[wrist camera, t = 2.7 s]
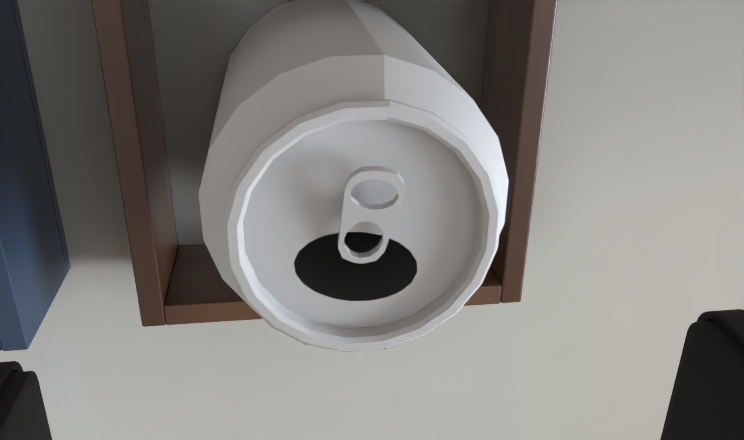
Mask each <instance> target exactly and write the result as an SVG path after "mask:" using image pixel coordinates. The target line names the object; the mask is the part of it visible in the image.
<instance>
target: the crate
mask: <svg viewBox="0 0 744 440" xmlns="http://www.w3.org/2000/svg"><path fill="white" fill-rule="evenodd" d="M91 2H92V8H93V14H94V21H95V27H96V34H97V40H98V46H99V53H100V59H101V65H102V72H103V78H104V85H105V91H106V97H107V104H108V110H109V117H110V123H111V129H112V136H113V142H114V149H115V155H116V161H117V168H118V174H119V181H120V187H121V193H122V200H123V206H124V212H125V219H126V225H127V232H128V238H129V244H130V251H131V257H132V264H133V270H134V276H135V283H136V289H137V296H138V302H139V308H140V315H141V321H142V326H159V325H165V324H167V325H173V324H189V323H204V322H220V321H235V320H251V319H263V318H262V317H261V316H260V315H259V314H258V313H256V312H255V311H254V310H253V309H252V308H251V307H250V306H249V305H248V304H247V303H246V302H245V301H244V300H243V299H242V298H241V297H240V296H239V295H238V294H237V293H236V292H235V291H234V290H233V289H232V288H231V287H230V286H229V285H228V284H227V283H226V282H225V281H224V280H223V279H222V277H221V275H220V273H219V271H218V269H217V267H216V265H215V263H214V261H213V258H212V256H211V254H210V252H209V250H208V248H207V246H206V245H191V246H179V247H178V241H177V233H176V225H175V217H174V209H173V201H172V192H171V184H170V176H169V168H168V160H167V152H166V143H165V135H164V127H163V119H162V111H161V102H160V94H159V86H158V78H157V70H156V62H155V53H154V45H153V37H152V29H151V21H150V13H149V4H148V0H91ZM557 2H558V0H490V4H489V16H488V28H487V40H486V52H485V64H484V76H483V88H482V100H481V112H482V114H483V115H484V117H485V118H486V120H487V121H488V123H489V124H490V126H491V127H492V129H493V130H494V132H495V133H496V135H497V136H498V138H499V142H500V147H501V151H502V155H503V159H504V163H505V167H506V171H507V176H508V180H509V183H508V192H507V202H506V212H505V222H504V226H503V228H502V230H501V232H500V235H499V242H498V249H497V251H496V254H495V256H494V258H493V260H492V263H491V265H490V267H489V269H488V272H487V274H486V276H485V278H484V281H483V283H482V284H481V286H480V287H479V288H478V289H477V290H476V291H475V293H474V294H473V295H472V296H471V297H470V298H469V300H468V301H467V302H466V303H465V304H464V305H463V306H468V305H483V304H498V303H500V302H501V303H510V302H520V300H521V293H522V285H523V277H524V269H525V260H526V252H527V244H528V236H529V228H530V220H531V212H532V204H533V196H534V188H535V180H536V171H537V163H538V155H539V147H540V139H541V131H542V123H543V115H544V107H545V99H546V91H547V82H548V74H549V66H550V58H551V50H552V42H553V34H554V26H555V18H556V10H557Z"/></svg>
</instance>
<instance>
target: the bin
mask: <svg viewBox="0 0 744 440" xmlns="http://www.w3.org/2000/svg"><path fill="white" fill-rule="evenodd" d="M69 268H70V263H69V258H68V253H67V248H66V243H65V238H64V234H63V229H62V224H61V219H60V214H59V209H58V204H57V199H56V194H55V189H54V184H53V179H52V174H51V169H50V164H49V159H48V154H47V149H46V144H45V139H44V134H43V129H42V124H41V119H40V114H39V109H38V104H37V99H36V94H35V89H34V84H33V80H32V75H31V70H30V65H29V60H28V55H27V50H26V45H25V40H24V35H23V30H22V25H21V20H20V15H19V10H18V5H17V0H0V351H1V350H3V351H10V350H25V349H28V347H29V346H30V344H31V342H32V340H33V338H34V336H35V334H36V332H37V330H38V328H39V326H40V324H41V322H42V320H43V319H44V317H45V315H46V313H47V311H48V309H49V307H50V305H51V303H52V301H53V299H54V297H55V295H56V294H57V292H58V290H59V288H60V286H61V284H62V282H63V280H64V278H65V276H66V274H67V272H68V270H69Z"/></svg>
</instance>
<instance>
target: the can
mask: <svg viewBox="0 0 744 440" xmlns="http://www.w3.org/2000/svg"><path fill="white" fill-rule="evenodd" d="M508 183H509V180H508V176H507V171H506V167H505V163H504V159H503V155H502V151H501V147H500V142H499V138H498V136H497V135H496V133H495V132H494V130H493V129H492V127H491V126H490V124H489V123H488V121H487V120H486V118H485V117H484V115H483V114H482V112H481V111H480V109H479V108H478V106H477V105H476V103H475V102H474V100H473V99H472V98H471V97H470V96H469V95H468V94H467V93H466V92H465V91H464V89H463V88H462V87H461V86H460V85H459V84H458V83H457V82H456V81H455V80H454V79H453V78H452V77H451V76H450V75H449V74H448V73H447V72H446V71H445V70H444V69H443V68H442V67H441V66H440V65H439V64H438V63H437V62H436V61H435V59H434V58H433V57H432V56H431V55H430V54H429V53H428V52H427V51H426V50H425V49H424V48H423V47H422V46H421V45H420V44H419V43H418V42H417V41H416V40H415V39H414V38H413V37H412V36H411V35H410V34H409V33H408V32H407V30H406V29H405V28H404V27H403V26H402V25H400V24H399V23H398V22H396V21H395V20H394V19H392V18H391V17H390V16H388V15H387V14H386V13H384V12H383V11H382V10H380V9H379V8H378V7H376V6H375V5H372V4H369V3H366V2H363V1H360V0H293V1H290V2H287V3H284V4H282V5H279V6H276V7H274V8H273V9H272V10H270V11H269V12H268V13H267V14H265V15H264V16H263V17H262V18H260V19H259V20H258V21H257V22H255V23H254V24H253V25H251V26H250V27H249V28H248V29H247V31H246V32H245V34H244V35H243V37H242V39H241V40H240V42H239V43H238V45H237V46H236V48H235V49H234V51H233V53H232V54H231V56H230V58H229V62H228V67H227V71H226V75H225V79H224V83H223V87H222V91H221V96H220V100H219V105H218V109H217V114H216V118H215V123H214V127H213V131H212V136H211V140H210V145H209V149H208V154H207V158H206V163H205V167H204V172H203V176H202V181H201V185H200V190H199V194H198V196H199V205H200V214H201V223H202V232H203V240H204V242H205V244H206V246H207V248H208V250H209V252H210V254H211V256H212V258H213V261H214V263H215V265H216V267H217V269H218V271H219V273H220V275H221V277H222V279H223V280H224V281H225V282H226V283H227V284H228V285H229V286H230V287H231V288H232V289H233V290H234V291H235V292H236V293H237V294H238V295H239V296H240V297H241V298H242V299H243V300H244V301H245V302H246V303H247V304H248V305H249V306H250V307H251V308H252V309H253V310H254V311H255V312H256V313H258V314H259V315H260V316H261V317H262V318H263V319H264V320H265V321H266V322H267V323H268V324H269V325H270V326H271V327H272V328H274V329H276V330H278V331H280V332H282V333H284V334H286V335H288V336H290V337H292V338H294V339H296V340H298V341H300V342H302V343H304V344H306V345H311V346H316V347H321V348H327V349H332V350H337V351H342V352H351V351H364V350H377V349H386V348H389V347H392V346H395V345H398V344H401V343H404V342H407V341H409V340H412V339H415V338H418V337H421V336H424V335H425V334H427V333H428V332H430V331H431V330H433V329H434V328H436V327H437V326H439V325H440V324H442V323H443V322H445V321H446V320H448V319H449V318H451V317H452V316H454V315H455V314H456V313H457V312H458V311H459V310H460V309H461V308H462V307H463V305H464V304H465V303H466V302H467V301H468V300H469V298H470V297H471V296H472V295H473V294H474V293H475V291H476V290H477V289H478V288H479V287H480V286H481V284H482V283H483V281H484V278H485V276H486V274H487V272H488V269H489V267H490V265H491V263H492V260H493V258H494V256H495V254H496V251H497V249H498V242H499V235H500V232H501V230H502V228H503V226H504V222H505V212H506V202H507V192H508Z"/></svg>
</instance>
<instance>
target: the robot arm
mask: <svg viewBox="0 0 744 440" xmlns="http://www.w3.org/2000/svg"><path fill="white" fill-rule="evenodd" d="M0 440H52V437H51V433H50V429H49V424H48V420H47V416H46V411H45V407H44V403H43V399H42V394H41V390H40V386H39V381H38V378H37V375H36V374H35V372H33V371H27V372H23V369H22V367H21V365H20V364H19V363H18V362H16V361H12V362H0ZM661 440H744V310H740V309H737V310H723V311H709V312H705V313H702V314H701V315H700V317H699V318H698V320H697V322H695V323H692V324H691V325H690V327H689V329H688V331H687V335H686V339H685V343H684V347H683V351H682V355H681V359H680V363H679V367H678V371H677V375H676V379H675V383H674V387H673V391H672V395H671V399H670V403H669V407H668V411H667V416H666V420H665V424H664V428H663V432H662V436H661Z"/></svg>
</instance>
